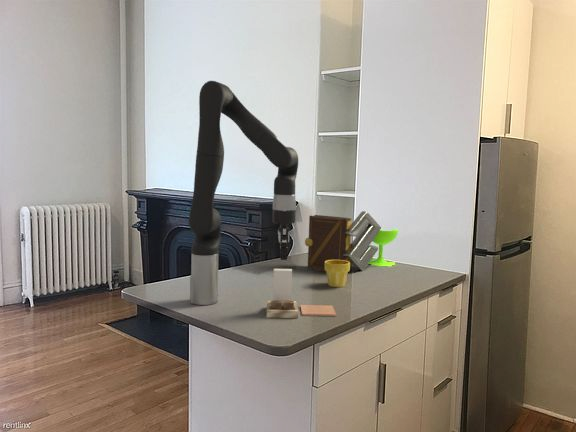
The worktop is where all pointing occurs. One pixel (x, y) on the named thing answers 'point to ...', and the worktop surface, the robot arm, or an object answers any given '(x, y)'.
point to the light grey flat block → (282, 285)
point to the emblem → (362, 241)
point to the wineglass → (382, 239)
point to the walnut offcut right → (288, 305)
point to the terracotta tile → (317, 310)
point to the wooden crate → (326, 240)
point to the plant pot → (337, 272)
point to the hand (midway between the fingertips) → (283, 257)
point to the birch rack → (282, 312)
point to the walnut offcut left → (276, 305)
